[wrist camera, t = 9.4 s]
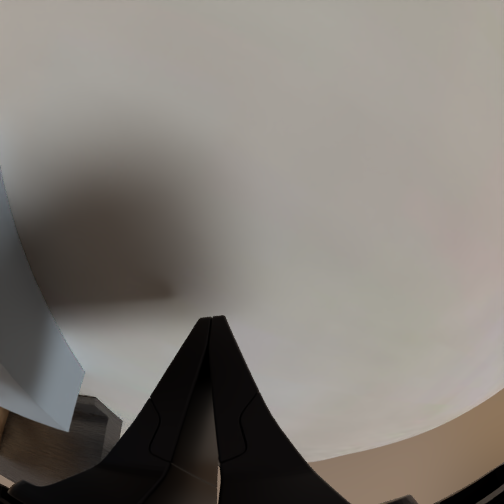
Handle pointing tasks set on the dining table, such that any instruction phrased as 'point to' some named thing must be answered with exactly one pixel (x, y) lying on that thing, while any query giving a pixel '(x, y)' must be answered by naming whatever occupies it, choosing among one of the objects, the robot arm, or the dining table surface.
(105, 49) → the dining table surface
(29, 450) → the bookend
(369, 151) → the dining table surface
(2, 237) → the boxed book
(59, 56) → the dining table surface
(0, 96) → the dining table surface
